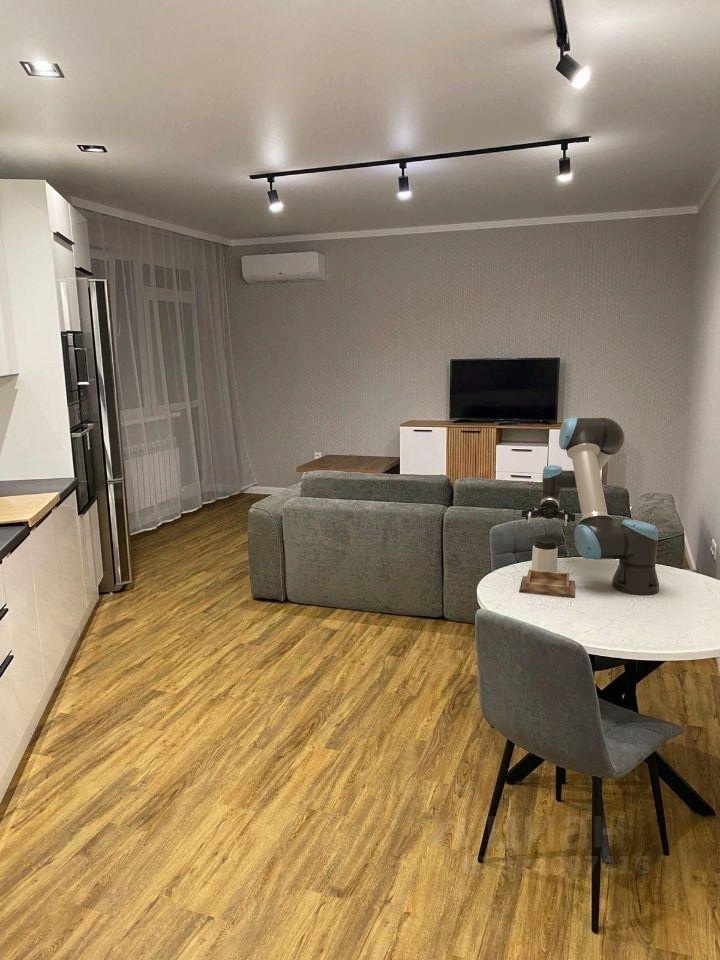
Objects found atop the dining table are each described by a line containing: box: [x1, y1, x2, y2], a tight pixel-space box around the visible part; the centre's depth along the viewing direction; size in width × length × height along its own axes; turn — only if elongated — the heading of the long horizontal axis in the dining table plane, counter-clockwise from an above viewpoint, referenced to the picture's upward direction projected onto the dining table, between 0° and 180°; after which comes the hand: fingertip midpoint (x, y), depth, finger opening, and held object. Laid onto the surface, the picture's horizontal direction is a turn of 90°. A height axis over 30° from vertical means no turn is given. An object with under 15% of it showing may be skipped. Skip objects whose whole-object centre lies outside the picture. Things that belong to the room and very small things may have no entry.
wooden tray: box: [518, 569, 576, 599], centre depth 246 cm, size 18×15×4 cm
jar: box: [531, 536, 559, 572], centre depth 263 cm, size 9×8×12 cm
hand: (547, 520), depth 270 cm, fingers open, 13 cm apart
